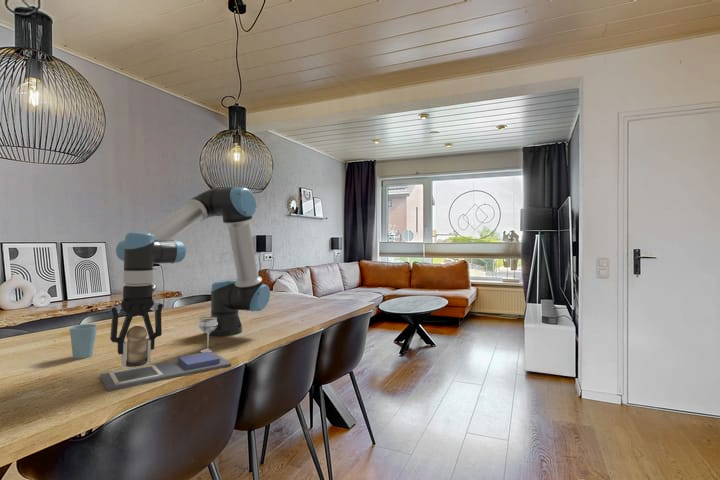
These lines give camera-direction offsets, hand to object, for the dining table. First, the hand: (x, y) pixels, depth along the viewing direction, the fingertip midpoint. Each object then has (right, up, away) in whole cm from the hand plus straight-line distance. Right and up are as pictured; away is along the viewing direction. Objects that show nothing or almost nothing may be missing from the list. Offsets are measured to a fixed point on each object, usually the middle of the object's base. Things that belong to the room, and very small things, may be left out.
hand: (136, 362), depth 112 cm
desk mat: (+7, -5, +6) cm, 10 cm away
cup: (-30, -4, +19) cm, 36 cm away
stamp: (0, 0, 0) cm, 0 cm away
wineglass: (+10, -5, +28) cm, 30 cm away
